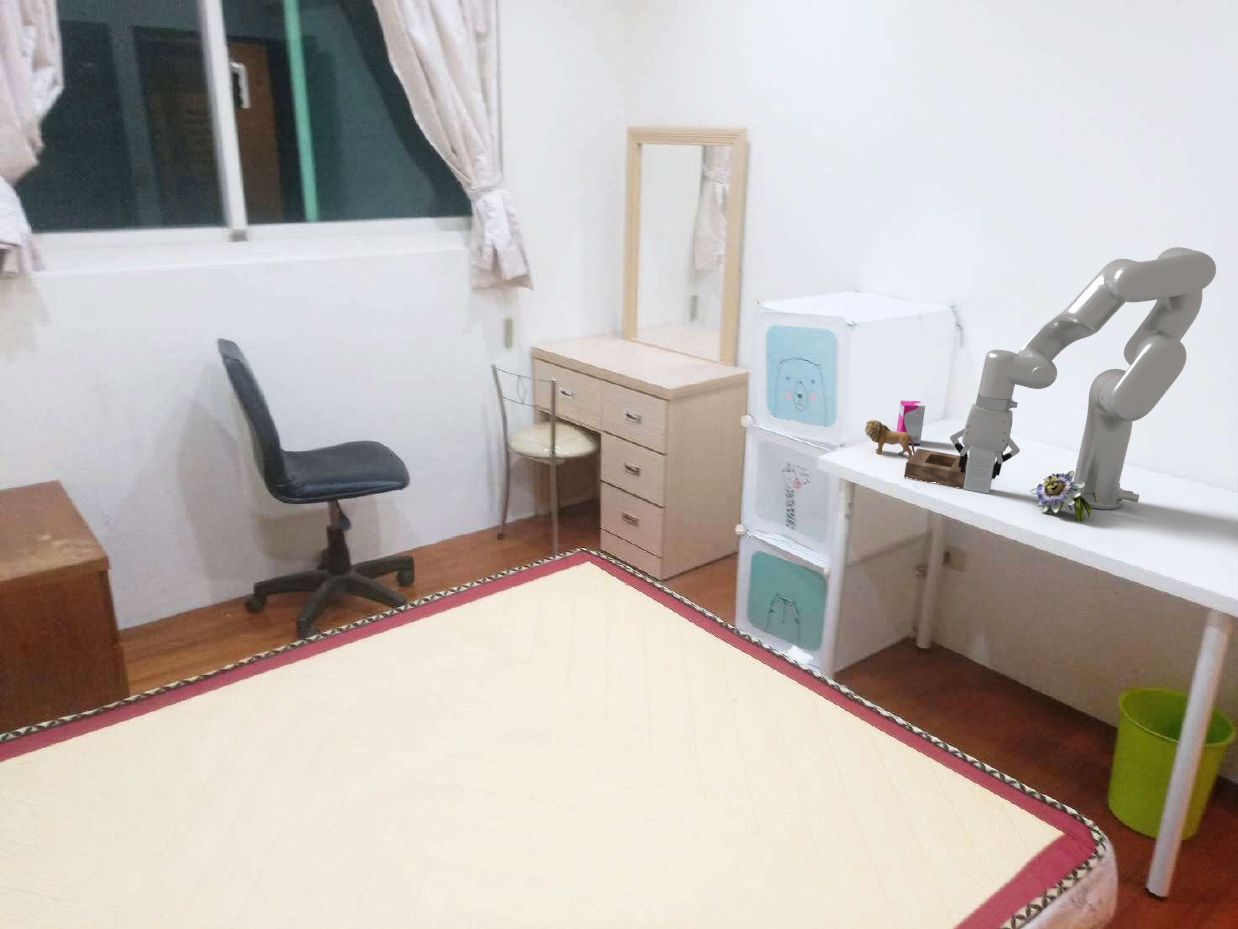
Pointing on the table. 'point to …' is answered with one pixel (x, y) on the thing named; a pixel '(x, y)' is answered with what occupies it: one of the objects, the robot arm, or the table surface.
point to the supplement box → (911, 419)
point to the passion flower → (1062, 494)
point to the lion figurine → (888, 437)
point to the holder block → (935, 468)
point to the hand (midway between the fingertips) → (978, 473)
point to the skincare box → (979, 470)
